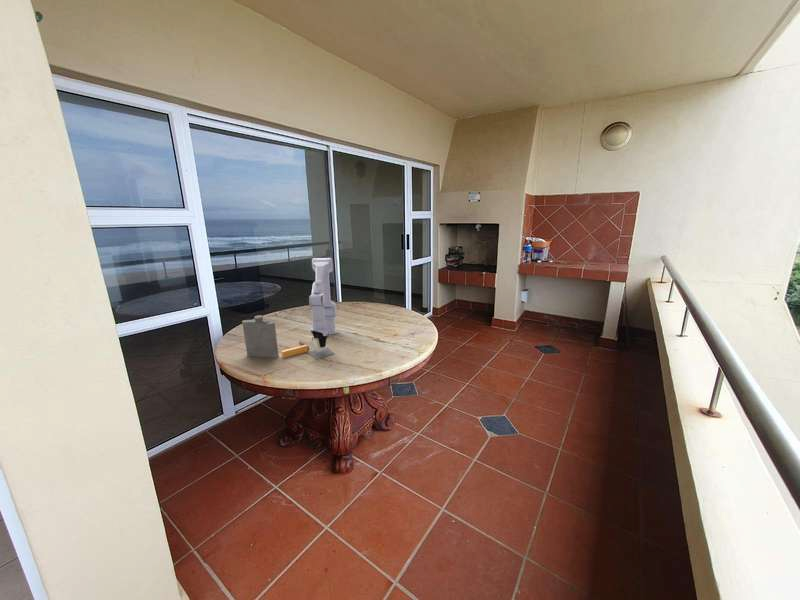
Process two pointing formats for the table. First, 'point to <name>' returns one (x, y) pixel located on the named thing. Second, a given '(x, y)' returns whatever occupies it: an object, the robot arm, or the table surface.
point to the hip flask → (260, 338)
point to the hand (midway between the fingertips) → (320, 345)
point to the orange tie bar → (294, 351)
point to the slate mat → (321, 353)
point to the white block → (318, 345)
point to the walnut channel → (304, 343)
